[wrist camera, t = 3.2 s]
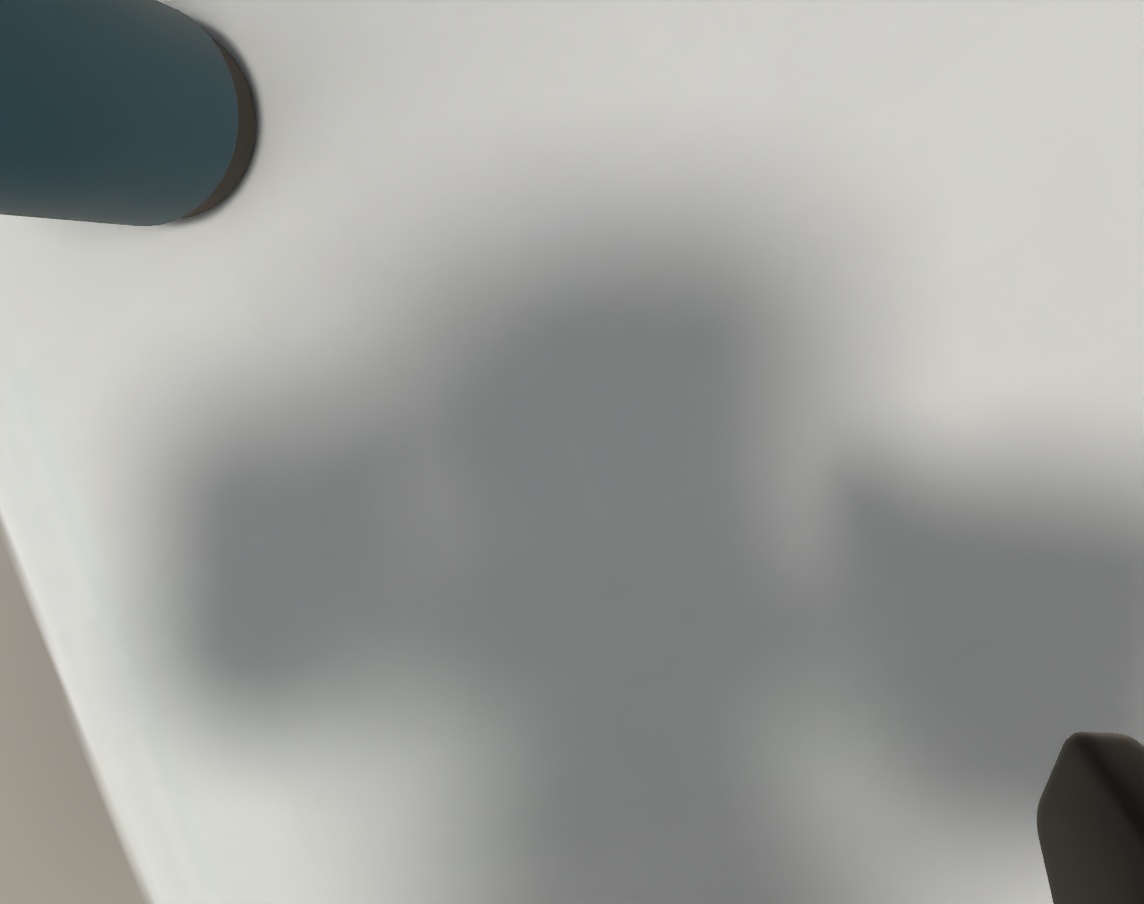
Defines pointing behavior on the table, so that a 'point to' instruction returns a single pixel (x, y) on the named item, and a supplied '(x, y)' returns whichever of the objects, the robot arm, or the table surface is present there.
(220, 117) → the orange-capped teal tube
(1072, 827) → the robot arm
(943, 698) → the table surface
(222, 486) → the table surface
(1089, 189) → the table surface
